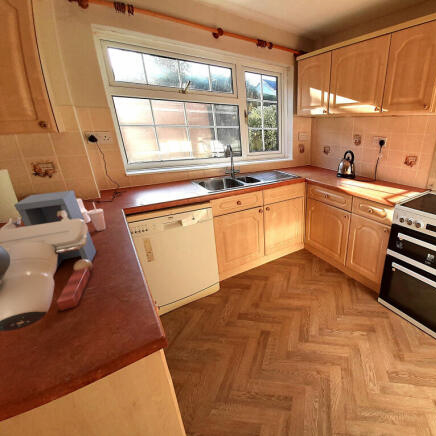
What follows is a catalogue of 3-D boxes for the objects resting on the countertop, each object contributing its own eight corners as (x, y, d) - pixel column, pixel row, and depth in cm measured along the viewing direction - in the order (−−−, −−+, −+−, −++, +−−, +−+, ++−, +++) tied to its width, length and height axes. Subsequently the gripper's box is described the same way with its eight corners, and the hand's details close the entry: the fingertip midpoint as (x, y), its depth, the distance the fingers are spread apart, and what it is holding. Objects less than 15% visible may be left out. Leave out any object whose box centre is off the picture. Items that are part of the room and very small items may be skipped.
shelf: (89, 265, 90) (63, 198, 81) (47, 274, 85) (13, 204, 76) (96, 251, 100) (73, 190, 91) (59, 258, 95) (30, 195, 86)
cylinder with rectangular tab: (81, 225, 127) (73, 203, 122) (64, 226, 127) (55, 204, 122) (94, 219, 135) (87, 198, 130) (78, 219, 135) (70, 198, 130)
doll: (79, 305, 70) (73, 291, 68) (57, 311, 68) (50, 297, 66) (95, 266, 89) (91, 255, 87) (78, 270, 87) (73, 258, 85)
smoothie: (111, 228, 122) (102, 201, 117) (96, 232, 117) (86, 205, 112) (105, 225, 126) (96, 199, 120) (91, 230, 121) (81, 203, 116)
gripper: (80, 240, 60) (83, 201, 67) (-41, 263, 51) (-23, 214, 59) (91, 254, 64) (92, 215, 72) (-19, 276, 56) (-5, 230, 63)
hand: (39, 215), depth 65 cm, fingers open, 8 cm apart
